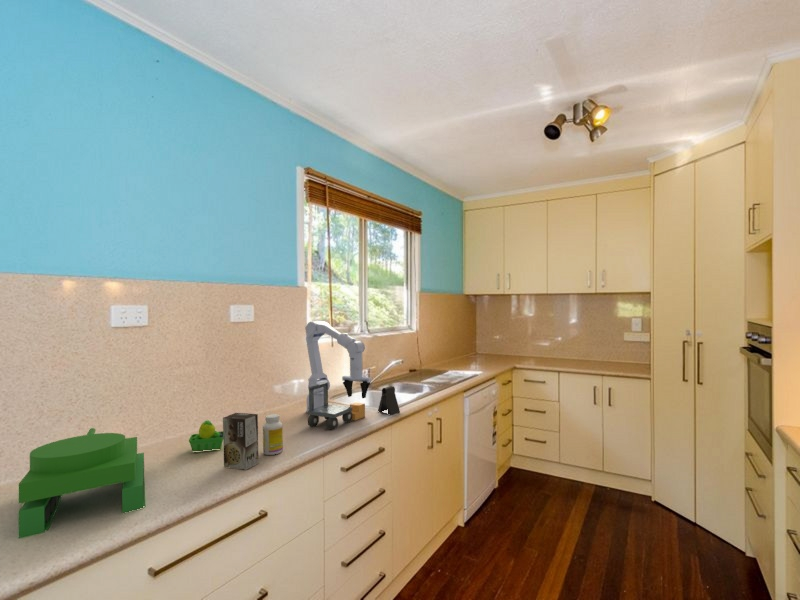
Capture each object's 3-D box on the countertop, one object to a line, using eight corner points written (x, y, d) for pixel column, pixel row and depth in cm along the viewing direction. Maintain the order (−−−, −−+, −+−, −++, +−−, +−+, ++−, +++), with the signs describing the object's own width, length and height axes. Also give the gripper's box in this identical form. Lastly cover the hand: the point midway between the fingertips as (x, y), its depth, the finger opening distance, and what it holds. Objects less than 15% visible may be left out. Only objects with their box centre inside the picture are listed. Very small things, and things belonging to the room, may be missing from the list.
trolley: (308, 414, 172) (307, 387, 172) (326, 407, 183) (326, 381, 184) (334, 418, 166) (334, 389, 166) (352, 410, 177) (351, 384, 177)
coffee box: (259, 463, 132) (258, 413, 132) (246, 470, 126) (245, 419, 126) (237, 460, 135) (236, 411, 135) (222, 467, 129) (222, 417, 129)
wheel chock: (345, 419, 180) (346, 405, 181) (355, 415, 187) (355, 402, 188) (355, 420, 178) (355, 406, 178) (364, 416, 185) (364, 403, 186)
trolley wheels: (307, 427, 170) (307, 415, 170) (330, 417, 184) (330, 406, 184) (330, 431, 165) (330, 418, 165) (352, 420, 179) (352, 409, 179)
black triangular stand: (400, 412, 191) (399, 387, 191) (391, 415, 187) (390, 389, 187) (386, 409, 197) (386, 385, 198) (377, 412, 193) (377, 387, 193)
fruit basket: (225, 444, 151) (225, 414, 151) (223, 452, 143) (222, 420, 143) (192, 448, 148) (191, 417, 148) (187, 456, 139) (187, 423, 139)
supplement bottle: (286, 450, 143) (286, 414, 143) (273, 456, 137) (273, 419, 137) (272, 448, 146) (271, 412, 146) (258, 454, 140) (258, 417, 140)
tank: (146, 467, 133) (145, 417, 133) (145, 509, 103) (144, 445, 104) (49, 485, 120) (49, 430, 120) (17, 540, 90) (17, 467, 91)
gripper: (338, 367, 184) (338, 397, 184) (365, 369, 178) (365, 400, 177) (347, 365, 190) (347, 394, 190) (373, 367, 184) (373, 397, 184)
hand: (356, 397), depth 184 cm, fingers open, 7 cm apart
